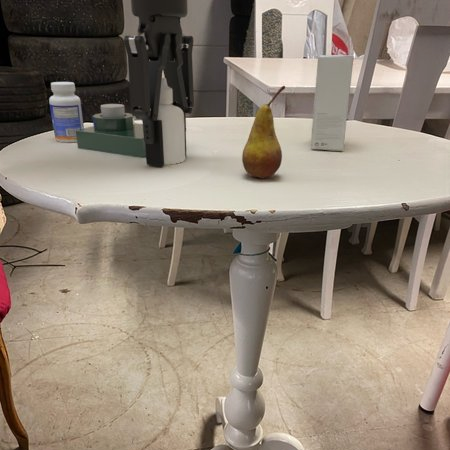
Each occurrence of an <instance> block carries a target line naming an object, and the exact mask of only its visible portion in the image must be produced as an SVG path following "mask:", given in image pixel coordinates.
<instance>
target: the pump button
mask: <svg viewBox="0 0 450 450" xmlns="http://www.w3.org/2000/svg"><path fill="white" fill-rule="evenodd" d="M100 113H101V114H102V117H107V118H116V117H124V116H125V113H126V110H125V105H124V104H121V103H105V104H101V105H100Z"/></svg>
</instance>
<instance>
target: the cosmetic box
mask: <svg viewBox="0 0 450 450" xmlns="http://www.w3.org/2000/svg"><path fill="white" fill-rule="evenodd" d="M354 58H355V56H354V55H351V54H350V55H349V54H322V55H321V54H320V55H318V56H317V66H316V78H315V89H314V100H313V111H312V124H311V141H310V142H311V143H310V149H311V150H325V151H334V152H343V151H344V150H345V139H346V130H347V121H348V113H349V112H348V111H349V110H348V109H349V104H350V103H349V102H350V93H351V86H352V85H351V84H352V74H353V66H354Z"/></svg>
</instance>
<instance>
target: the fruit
mask: <svg viewBox="0 0 450 450" xmlns="http://www.w3.org/2000/svg"><path fill="white" fill-rule="evenodd" d="M285 89H286V86H285V85H282V86H281V87H280V88H279V89H278V91H277V92H276V93H275V94H274V96H273V97H272V98H271V99H270V101H269V102H268V103H264V104H263V105H261V106H260V107H259V109H258V110H257V112H256V115H255V117H254V120H253V123H252V126H251V129H250V132H249V134H248V135H249V136H248V138H247V141H246V143H245V145H244V147H243V150H242V154H241V160H242V161H241V162H242V166H243V169H244V170H245V172H246V173H247V174H248V175H250V176H251V177H254V178H260V179H268V178H270V177H272V176H273V175H275V173H277V172H278V170H279V168H280V167H281V164H282V160H283V151H282V148H281V144H280V142H279V140H278V137H277V134H276V131H275V123H274V115H273V111H272V108H271V104H272V103H273V102H274V100H275V99H276V98H277V97H278V95H280V94H281V92H283V91H284V90H285Z"/></svg>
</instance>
